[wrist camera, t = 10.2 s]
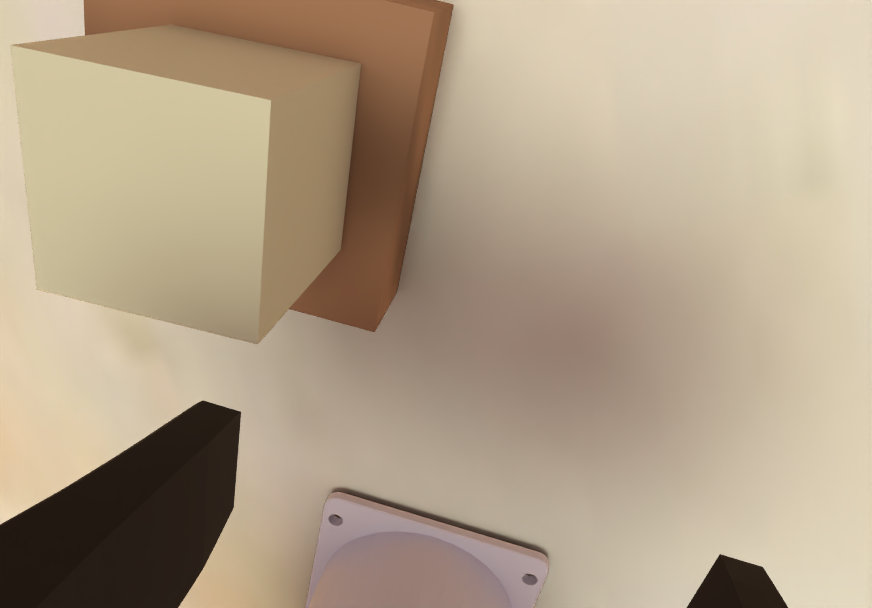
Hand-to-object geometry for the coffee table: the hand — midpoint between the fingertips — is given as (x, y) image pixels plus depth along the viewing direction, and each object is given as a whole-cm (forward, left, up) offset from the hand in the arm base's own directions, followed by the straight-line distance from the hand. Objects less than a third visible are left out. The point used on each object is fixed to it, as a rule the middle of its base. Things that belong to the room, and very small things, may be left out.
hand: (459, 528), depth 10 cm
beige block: (+2, +7, -8) cm, 11 cm away
